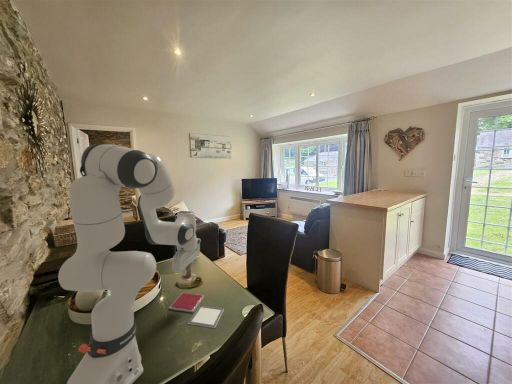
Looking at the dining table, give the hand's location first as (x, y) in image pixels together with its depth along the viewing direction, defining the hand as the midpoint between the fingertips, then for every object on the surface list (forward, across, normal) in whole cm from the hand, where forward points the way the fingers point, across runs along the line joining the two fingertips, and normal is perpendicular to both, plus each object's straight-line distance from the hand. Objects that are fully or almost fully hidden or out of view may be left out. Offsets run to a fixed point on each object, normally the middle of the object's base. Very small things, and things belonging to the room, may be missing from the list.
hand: (187, 272), depth 102 cm
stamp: (+5, 0, 0) cm, 5 cm away
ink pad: (+15, 0, 0) cm, 16 cm away
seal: (+16, +16, +7) cm, 24 cm away
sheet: (+15, -7, -13) cm, 21 cm away
